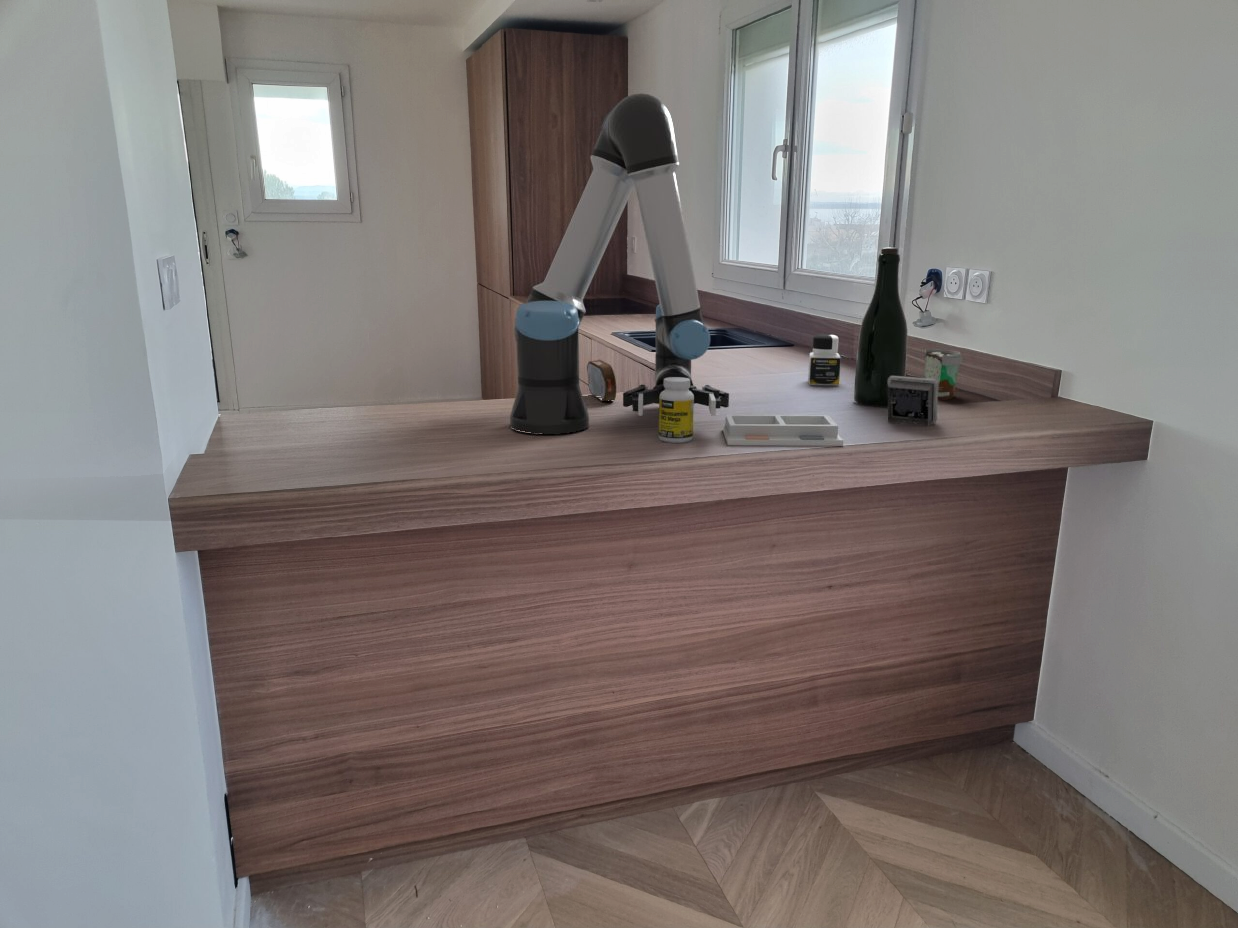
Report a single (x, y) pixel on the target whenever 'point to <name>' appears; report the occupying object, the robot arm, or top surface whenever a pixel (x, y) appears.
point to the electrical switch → (912, 400)
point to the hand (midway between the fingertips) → (676, 408)
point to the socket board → (781, 430)
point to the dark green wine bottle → (881, 336)
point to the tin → (601, 380)
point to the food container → (942, 370)
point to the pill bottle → (676, 411)
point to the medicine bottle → (824, 361)
